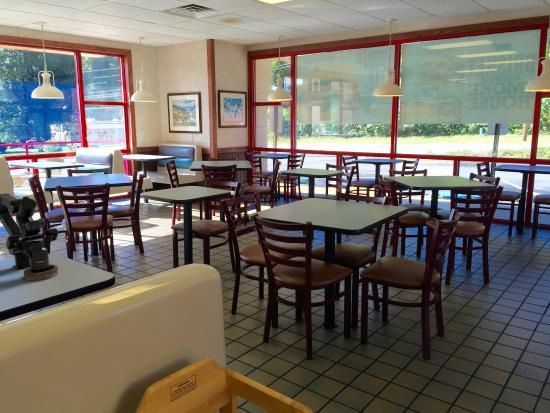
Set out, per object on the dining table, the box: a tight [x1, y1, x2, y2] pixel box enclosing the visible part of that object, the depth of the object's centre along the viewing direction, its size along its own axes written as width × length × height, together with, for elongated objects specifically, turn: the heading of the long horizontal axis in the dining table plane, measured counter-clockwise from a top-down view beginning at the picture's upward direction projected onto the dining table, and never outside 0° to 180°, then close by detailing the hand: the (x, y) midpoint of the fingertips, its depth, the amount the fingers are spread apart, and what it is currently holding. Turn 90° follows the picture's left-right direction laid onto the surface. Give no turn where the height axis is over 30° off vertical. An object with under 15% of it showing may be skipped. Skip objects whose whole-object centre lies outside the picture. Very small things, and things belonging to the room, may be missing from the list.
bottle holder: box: [22, 264, 59, 282], centre depth 187 cm, size 12×12×3 cm
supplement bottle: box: [29, 239, 50, 273], centre depth 186 cm, size 7×7×12 cm
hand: (40, 255), depth 185 cm, fingers closed on supplement bottle, 7 cm apart
